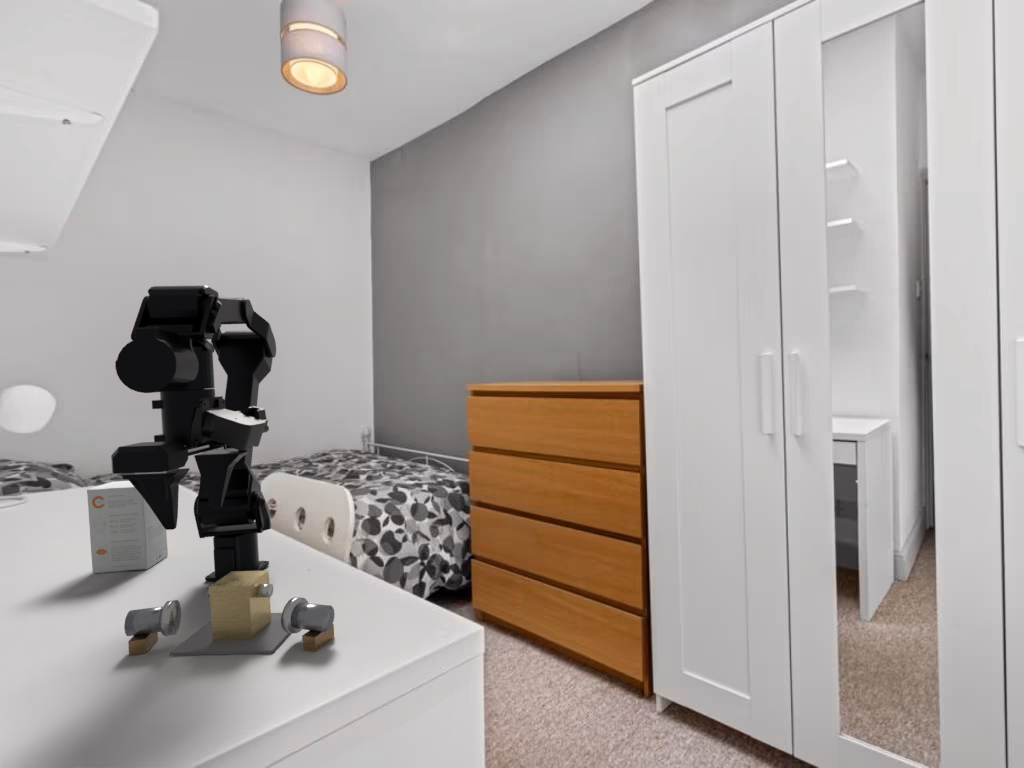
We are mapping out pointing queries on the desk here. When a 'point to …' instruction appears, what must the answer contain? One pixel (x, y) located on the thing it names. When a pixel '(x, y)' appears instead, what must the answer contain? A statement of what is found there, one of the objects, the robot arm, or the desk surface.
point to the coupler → (240, 605)
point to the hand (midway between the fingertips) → (195, 518)
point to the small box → (123, 529)
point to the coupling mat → (234, 641)
